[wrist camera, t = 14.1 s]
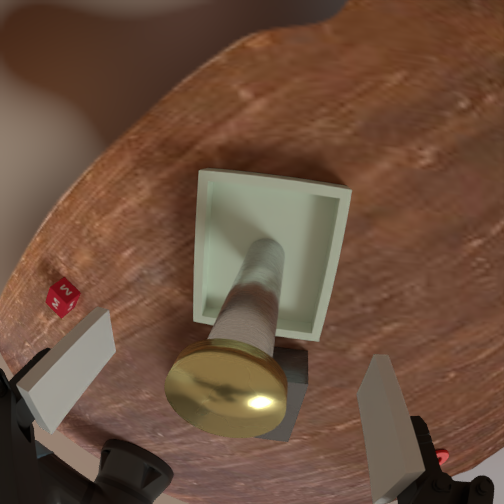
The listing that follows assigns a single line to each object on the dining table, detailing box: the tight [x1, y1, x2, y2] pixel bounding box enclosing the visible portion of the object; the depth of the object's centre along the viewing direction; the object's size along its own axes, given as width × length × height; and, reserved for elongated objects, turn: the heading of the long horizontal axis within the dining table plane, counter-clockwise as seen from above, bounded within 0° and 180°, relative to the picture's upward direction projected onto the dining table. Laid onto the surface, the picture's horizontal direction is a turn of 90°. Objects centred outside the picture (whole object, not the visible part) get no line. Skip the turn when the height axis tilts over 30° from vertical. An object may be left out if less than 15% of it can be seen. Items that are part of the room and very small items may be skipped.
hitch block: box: [255, 347, 308, 442], centre depth 29 cm, size 10×10×5 cm
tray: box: [193, 168, 352, 342], centre depth 25 cm, size 12×14×2 cm
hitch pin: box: [165, 238, 288, 438], centre depth 18 cm, size 5×5×16 cm
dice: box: [46, 277, 81, 319], centre depth 30 cm, size 3×3×3 cm
